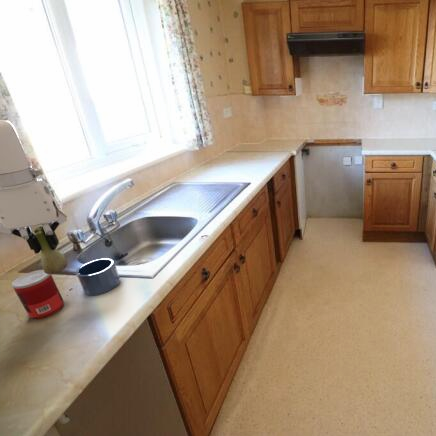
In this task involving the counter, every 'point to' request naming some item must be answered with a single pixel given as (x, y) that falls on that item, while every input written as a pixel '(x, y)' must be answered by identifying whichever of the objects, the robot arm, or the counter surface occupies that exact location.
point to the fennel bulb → (49, 254)
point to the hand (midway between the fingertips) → (46, 248)
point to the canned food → (38, 294)
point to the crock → (98, 276)
